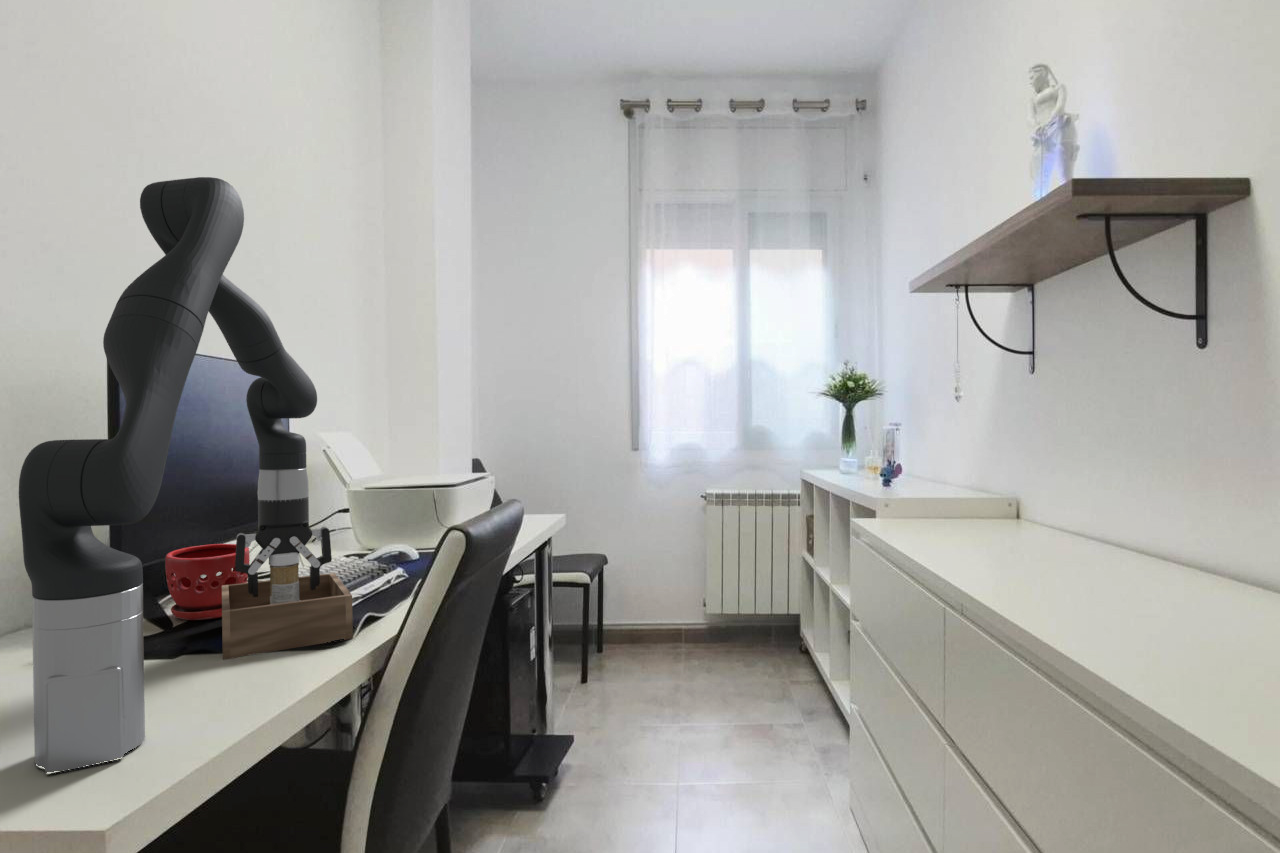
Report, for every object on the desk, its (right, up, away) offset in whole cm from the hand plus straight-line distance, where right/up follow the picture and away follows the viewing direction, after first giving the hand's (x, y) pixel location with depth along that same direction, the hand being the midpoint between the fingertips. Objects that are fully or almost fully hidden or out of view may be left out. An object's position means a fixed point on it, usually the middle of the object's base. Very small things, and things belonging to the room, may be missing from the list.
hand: (284, 592), depth 115 cm
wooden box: (0, -7, 0) cm, 7 cm away
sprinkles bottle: (0, -7, 0) cm, 7 cm away
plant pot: (-20, -7, +11) cm, 24 cm away
